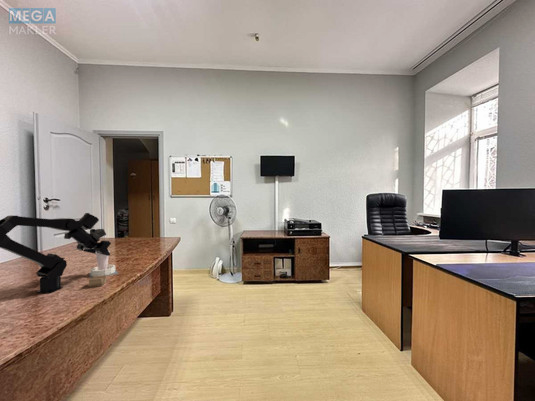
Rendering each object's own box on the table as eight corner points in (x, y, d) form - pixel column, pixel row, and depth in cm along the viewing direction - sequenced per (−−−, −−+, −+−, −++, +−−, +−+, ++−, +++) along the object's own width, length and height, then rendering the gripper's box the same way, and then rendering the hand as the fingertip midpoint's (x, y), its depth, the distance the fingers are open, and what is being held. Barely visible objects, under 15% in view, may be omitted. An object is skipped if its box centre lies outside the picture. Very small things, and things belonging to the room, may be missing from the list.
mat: (118, 274, 125) (118, 273, 125) (90, 279, 117) (90, 278, 117) (114, 269, 134) (114, 268, 134) (88, 273, 126) (88, 273, 126)
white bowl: (105, 276, 120) (105, 270, 120) (85, 276, 121) (85, 270, 121) (119, 270, 131) (119, 264, 131) (101, 270, 131) (101, 264, 131)
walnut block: (101, 287, 107) (101, 278, 107) (89, 288, 106) (88, 279, 106) (106, 283, 112) (106, 275, 112) (94, 284, 111) (93, 276, 111)
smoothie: (111, 267, 130) (111, 241, 129) (107, 270, 124) (107, 243, 123) (97, 268, 127) (97, 242, 127) (93, 272, 121) (93, 244, 121)
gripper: (107, 224, 118) (127, 243, 129) (82, 223, 125) (104, 241, 135) (90, 243, 111) (113, 261, 121) (65, 241, 118) (89, 258, 128)
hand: (105, 254), depth 127 cm, fingers closed on smoothie, 6 cm apart
